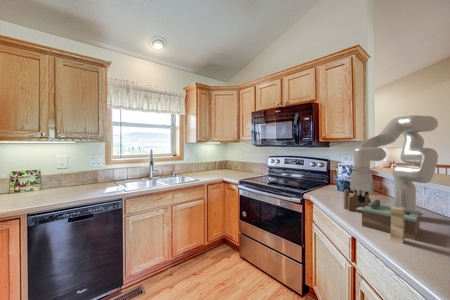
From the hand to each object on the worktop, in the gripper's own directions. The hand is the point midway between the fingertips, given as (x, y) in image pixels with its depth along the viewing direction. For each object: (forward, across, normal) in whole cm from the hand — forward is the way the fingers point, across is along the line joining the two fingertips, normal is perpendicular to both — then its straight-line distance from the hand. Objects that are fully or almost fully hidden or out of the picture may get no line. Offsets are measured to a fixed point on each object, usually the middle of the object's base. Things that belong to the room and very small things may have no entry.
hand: (361, 202), depth 108 cm
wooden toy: (+12, -8, +22) cm, 26 cm away
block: (+12, +18, -14) cm, 25 cm away
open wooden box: (+12, +12, 0) cm, 17 cm away
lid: (+2, +12, 0) cm, 13 cm away
